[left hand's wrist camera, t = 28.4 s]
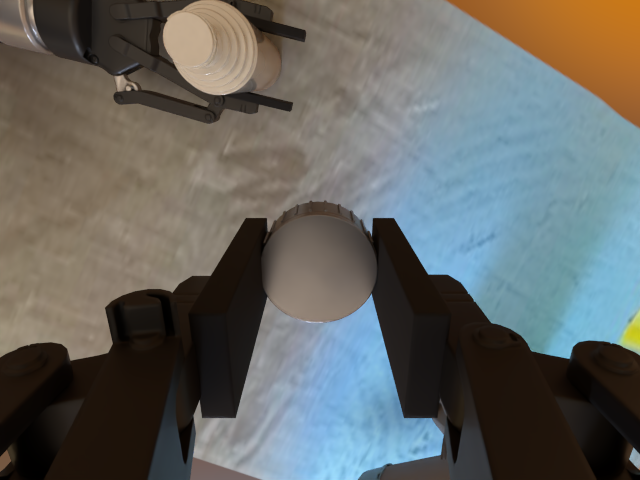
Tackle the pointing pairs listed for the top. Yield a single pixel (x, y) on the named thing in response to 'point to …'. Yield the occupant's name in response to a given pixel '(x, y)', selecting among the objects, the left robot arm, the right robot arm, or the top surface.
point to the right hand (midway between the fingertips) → (297, 72)
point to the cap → (318, 262)
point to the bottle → (220, 49)
